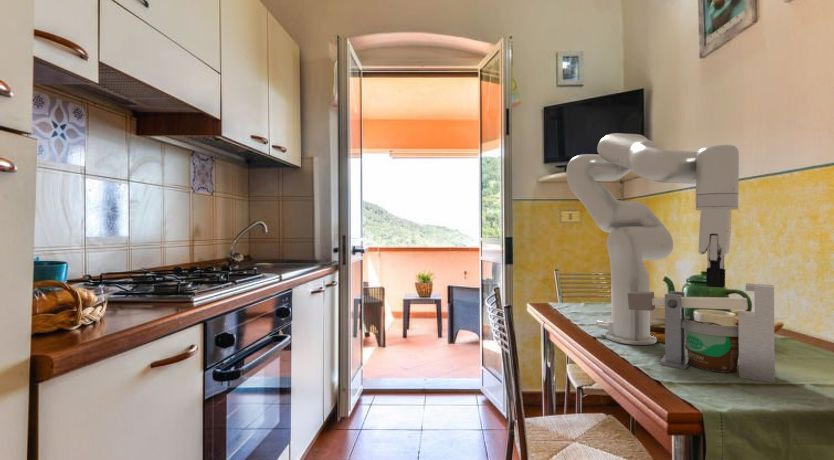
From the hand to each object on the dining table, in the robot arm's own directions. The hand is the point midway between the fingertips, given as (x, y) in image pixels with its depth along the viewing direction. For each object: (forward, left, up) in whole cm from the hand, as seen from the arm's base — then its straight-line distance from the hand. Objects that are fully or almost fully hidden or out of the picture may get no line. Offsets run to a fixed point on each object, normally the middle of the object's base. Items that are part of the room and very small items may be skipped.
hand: (715, 286), depth 89 cm
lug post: (+7, 0, -18) cm, 19 cm away
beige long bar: (-6, 0, -6) cm, 8 cm away
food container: (-2, 0, -18) cm, 18 cm away
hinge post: (-8, 0, -18) cm, 20 cm away
